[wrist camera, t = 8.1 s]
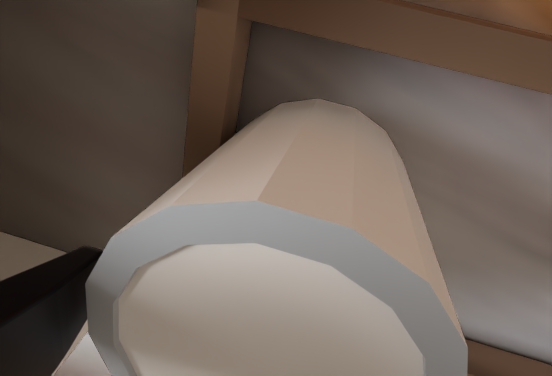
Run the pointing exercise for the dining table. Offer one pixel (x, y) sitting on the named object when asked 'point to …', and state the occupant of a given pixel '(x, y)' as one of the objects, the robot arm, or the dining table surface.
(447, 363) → the white tapered cup
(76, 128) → the dining table surface
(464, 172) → the dining table surface
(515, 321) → the dining table surface
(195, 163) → the tray
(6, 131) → the dining table surface
